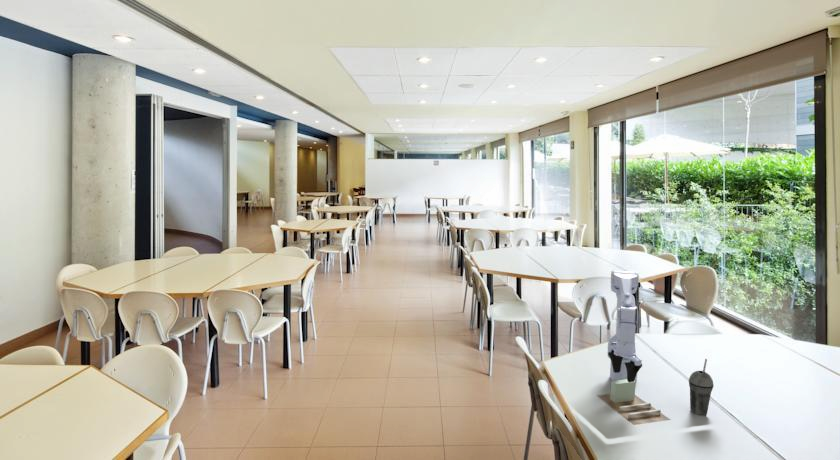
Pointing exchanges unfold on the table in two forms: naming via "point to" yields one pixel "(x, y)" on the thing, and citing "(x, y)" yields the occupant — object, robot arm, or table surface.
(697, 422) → the table surface
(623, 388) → the door panel
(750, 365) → the table surface
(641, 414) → the track base
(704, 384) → the beverage cup
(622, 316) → the robot arm
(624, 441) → the table surface
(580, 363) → the table surface
